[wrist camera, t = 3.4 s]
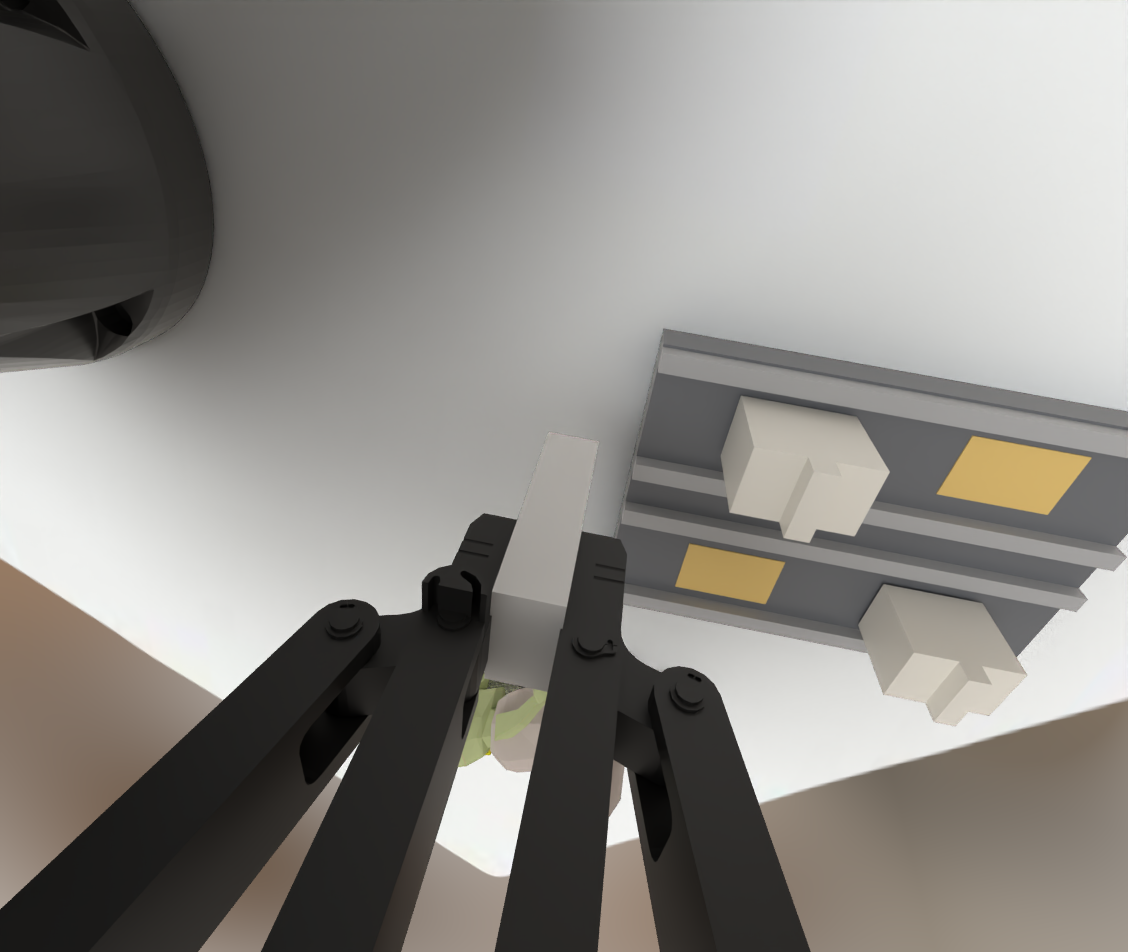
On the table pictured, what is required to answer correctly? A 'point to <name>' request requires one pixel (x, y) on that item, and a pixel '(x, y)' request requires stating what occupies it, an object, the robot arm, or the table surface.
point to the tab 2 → (939, 653)
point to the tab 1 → (800, 468)
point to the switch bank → (899, 512)
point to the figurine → (514, 732)
